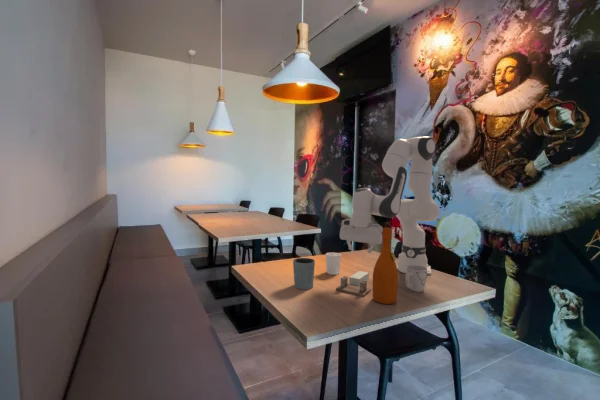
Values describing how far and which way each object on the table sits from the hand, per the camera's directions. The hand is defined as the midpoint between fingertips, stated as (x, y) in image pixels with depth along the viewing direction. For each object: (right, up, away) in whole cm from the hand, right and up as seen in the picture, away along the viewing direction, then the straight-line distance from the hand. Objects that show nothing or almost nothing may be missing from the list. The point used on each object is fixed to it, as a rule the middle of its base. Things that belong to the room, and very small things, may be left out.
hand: (359, 251), depth 144 cm
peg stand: (-5, -16, -10) cm, 19 cm away
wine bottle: (+6, -17, -20) cm, 27 cm away
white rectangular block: (0, -15, +1) cm, 16 cm away
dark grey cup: (-27, -15, -5) cm, 31 cm away
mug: (+23, -16, -8) cm, 29 cm away
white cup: (-11, -14, +15) cm, 24 cm away
